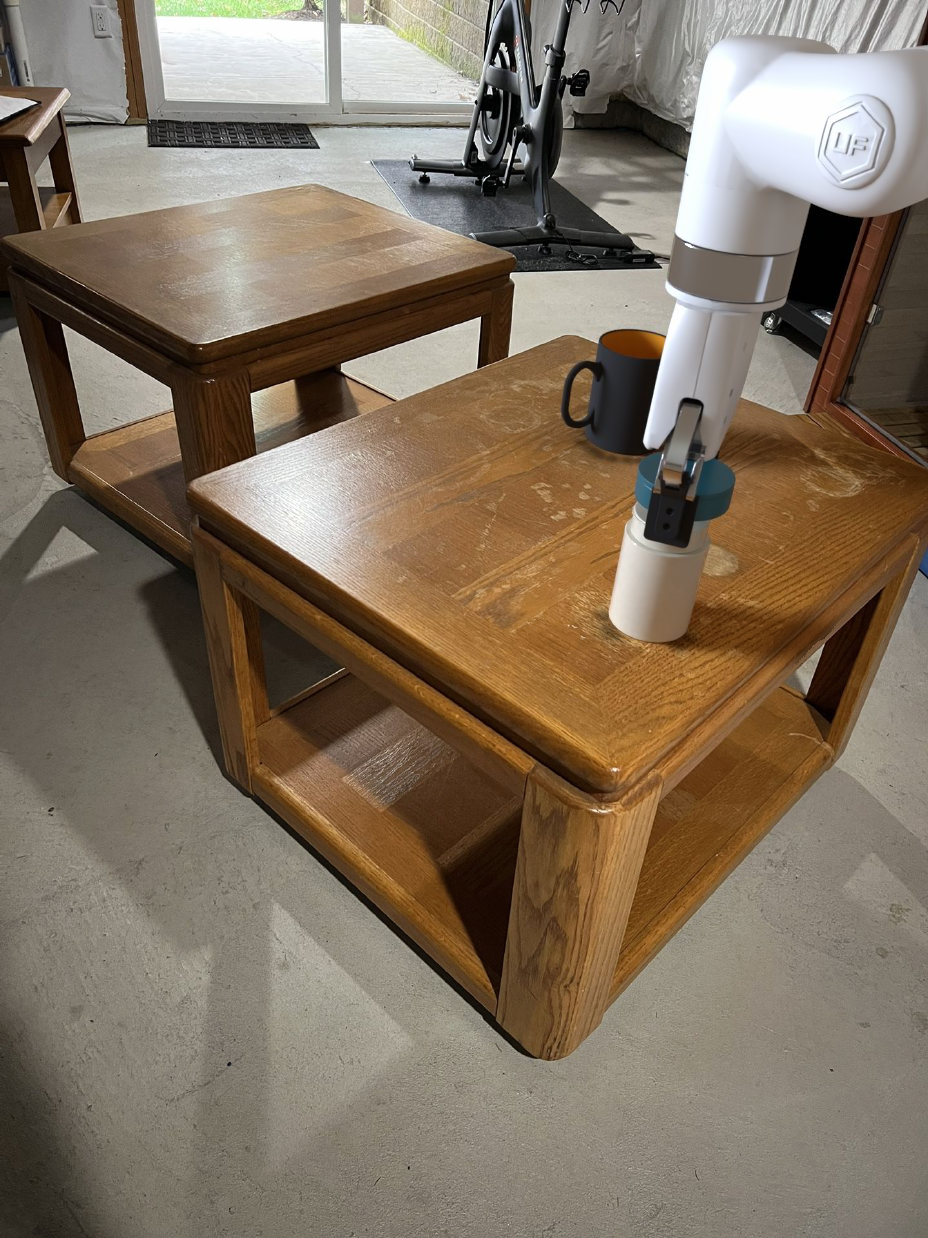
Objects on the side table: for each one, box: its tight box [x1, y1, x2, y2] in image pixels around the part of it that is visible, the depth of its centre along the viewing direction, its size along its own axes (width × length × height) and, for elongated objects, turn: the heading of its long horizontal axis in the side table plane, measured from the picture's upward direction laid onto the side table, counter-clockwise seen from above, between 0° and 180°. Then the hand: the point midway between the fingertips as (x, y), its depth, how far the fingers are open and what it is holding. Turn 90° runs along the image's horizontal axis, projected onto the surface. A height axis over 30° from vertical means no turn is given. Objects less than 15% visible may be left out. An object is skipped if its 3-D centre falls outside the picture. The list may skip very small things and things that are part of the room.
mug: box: [560, 328, 667, 456], centre depth 97 cm, size 8×12×10 cm
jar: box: [608, 501, 712, 644], centre depth 72 cm, size 6×6×10 cm
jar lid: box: [634, 451, 737, 522], centre depth 67 cm, size 7×7×2 cm
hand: (677, 515), depth 69 cm, fingers closed on jar lid, 6 cm apart
